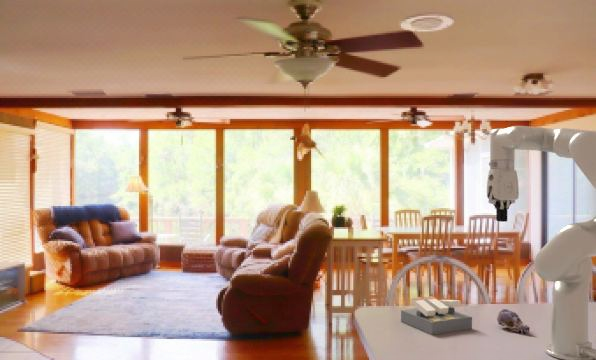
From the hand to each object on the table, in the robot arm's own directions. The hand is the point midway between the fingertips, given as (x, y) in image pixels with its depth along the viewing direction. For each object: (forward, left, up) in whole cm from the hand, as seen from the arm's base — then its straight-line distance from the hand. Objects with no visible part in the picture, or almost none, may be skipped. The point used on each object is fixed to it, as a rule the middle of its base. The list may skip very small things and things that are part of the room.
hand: (501, 221), depth 172 cm
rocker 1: (+16, +20, -30) cm, 39 cm away
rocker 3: (+16, +9, -30) cm, 35 cm away
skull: (+1, -7, -38) cm, 38 cm away
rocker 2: (+16, +14, -30) cm, 37 cm away
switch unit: (+16, +14, -37) cm, 43 cm away
